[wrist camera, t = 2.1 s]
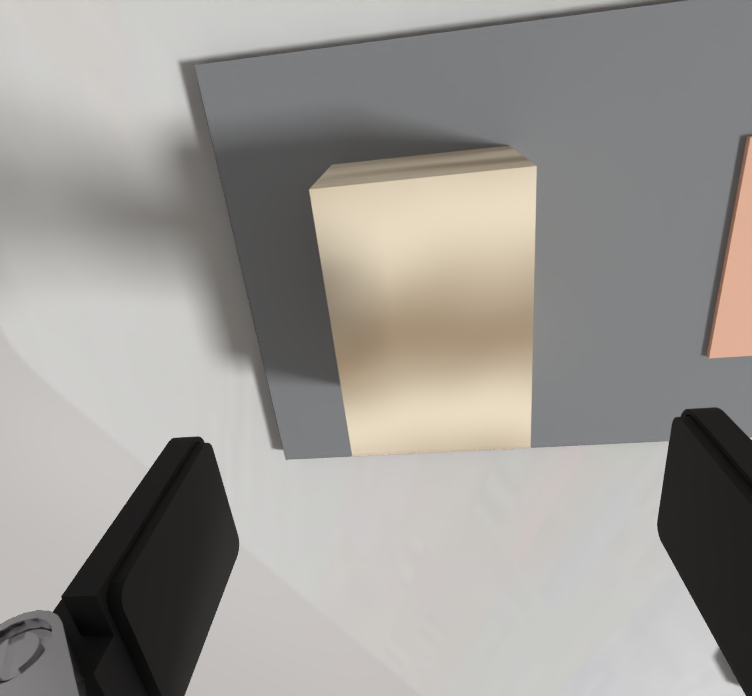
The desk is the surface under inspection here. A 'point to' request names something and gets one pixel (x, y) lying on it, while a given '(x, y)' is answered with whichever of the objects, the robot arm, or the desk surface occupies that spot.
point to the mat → (553, 203)
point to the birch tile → (431, 298)
